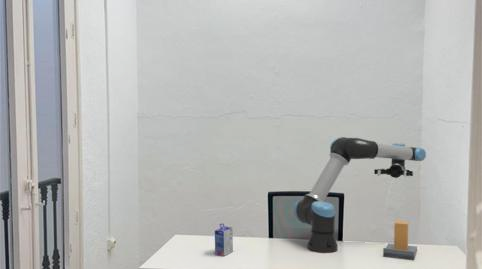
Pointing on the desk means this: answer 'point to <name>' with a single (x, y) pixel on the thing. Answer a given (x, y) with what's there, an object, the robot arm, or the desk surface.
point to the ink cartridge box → (223, 240)
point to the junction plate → (400, 252)
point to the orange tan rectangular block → (401, 235)
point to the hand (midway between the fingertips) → (391, 173)
